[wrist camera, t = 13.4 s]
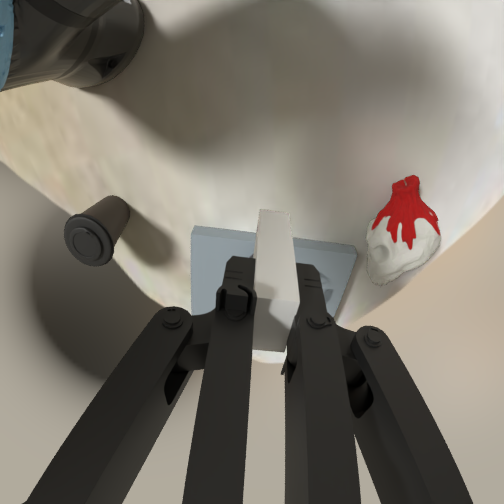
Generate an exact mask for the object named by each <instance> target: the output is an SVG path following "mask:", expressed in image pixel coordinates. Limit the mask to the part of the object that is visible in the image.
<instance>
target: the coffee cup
mask: <svg viewBox="0 0 504 504" xmlns="http://www.w3.org/2000/svg"><path fill="white" fill-rule="evenodd" d="M129 217H130V211H129V207H128V206H127V204H126V202H125V201H124V200H123V199H121V198H119V197H118V196H113V195H112V196H107V197H105V198H104V199H102V200H101V201H99V202H98V203H96V204H95V205H93V206H92V207H90V208H89V209H87V210H86V211H84V212H83V213H81V214H75V215H74V216H72V217H70V218H69V220H68V221H67V222H66V225H65V229H64V238H65V242H66V245H67V247H68V249H69V251H70V252H71V253H72V255H73V256H74V257H75V258H76V259H78V260H79V261H80V262H82V263H84V264H86V265H89V266H101V265H104V264H106V263H108V262H109V261H110V260H111V259H112V256H113V253H114V246H115V244H116V242H117V240H118V239H119V237H120V235H121V233H122V231H123V229H124V227H125V225H126V224H127V222H128V220H129Z"/></svg>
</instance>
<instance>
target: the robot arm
mask: <svg viewBox="0 0 504 504" xmlns="http://www.w3.org/2000/svg"><path fill="white" fill-rule="evenodd" d="M143 31H144V16H143V11H142V8H141V6H140V4H139V2H138V1H137V0H0V92H2V91H5V90H9V89H13V88H17V87H21V86H25V85H30V84H34V83H39V82H44V81H49V80H54V81H56V82H59V83H61V84H64V85H67V86H70V87H77V88H83V87H90V86H95V85H99V84H102V83H105V82H107V81H109V80H110V79H112V78H114V77H115V76H116V75H118V74H119V73H120V72H121V71H122V70H123V69H124V68H125V67H126V66H127V65H128V64H129V63H130V61H131V60H132V58H133V57H134V55H135V54H136V52H137V50H138V48H139V45H140V43H141V40H142V36H143ZM286 346H287V356H286V359H285V362H284V365H283V368H282V371H281V375H283V374H284V372H285V504H361V496H360V484H359V474H358V464H357V456H356V446H355V438H354V435H355V437H356V439H357V442H358V445H359V447H360V450H361V452H362V455H363V457H364V460H365V462H366V465H367V468H368V470H369V473H370V475H371V478H372V480H373V483H374V486H375V489H376V491H377V494H378V496H379V499H380V502H381V504H473V502H472V499H471V497H470V495H469V492H468V490H467V488H466V485H465V483H464V481H463V478H462V476H461V474H460V472H459V469H458V467H457V465H456V463H455V461H454V459H453V457H452V454H451V452H450V450H449V448H448V446H447V444H446V443H445V440H444V438H443V436H442V434H441V432H440V430H439V428H438V426H437V424H436V422H435V420H434V418H433V416H432V414H431V412H430V410H429V409H428V407H427V405H426V403H425V401H424V399H423V397H422V396H421V394H420V392H419V390H418V388H417V386H416V385H415V383H414V381H413V379H412V377H411V376H410V374H409V372H408V370H407V369H406V367H405V365H404V363H403V362H402V360H401V358H400V356H399V355H398V353H397V352H396V350H395V348H394V346H393V345H392V343H391V341H390V340H389V338H388V336H387V335H386V334H385V333H384V332H383V331H382V330H380V329H379V328H377V327H373V326H363V327H361V328H360V329H359V330H358V331H357V332H354V331H350V330H347V329H344V328H342V327H340V326H338V325H337V324H336V323H335V321H334V319H333V317H332V316H331V315H330V314H329V313H327V308H326V303H325V298H324V293H323V289H322V283H321V278H320V274H319V271H318V270H317V269H316V268H315V266H314V265H312V264H304V263H296V262H295V254H294V246H293V238H292V230H291V223H290V215H289V213H286V212H279V211H271V210H263V209H260V212H259V219H258V226H257V233H256V240H255V247H254V255H253V258H248V257H240V256H232V257H231V258H230V259H229V260H228V261H227V262H226V267H225V272H224V278H223V282H222V286H220V287H219V288H218V290H217V292H216V306H215V308H214V309H213V310H212V311H210V312H208V313H205V314H200V315H192V316H191V315H190V313H189V312H188V311H187V310H185V309H183V308H180V307H175V306H173V307H166V308H163V309H161V310H159V311H158V312H157V313H156V314H155V315H154V316H153V318H152V319H151V320H150V322H149V323H148V324H147V326H146V327H145V328H144V330H143V331H142V332H141V334H140V335H139V336H138V338H137V339H136V341H135V342H134V343H133V344H132V346H131V347H130V349H129V350H128V351H127V353H126V354H125V356H124V357H123V358H122V360H121V361H120V363H119V364H118V365H117V367H116V368H115V369H114V371H113V372H112V373H111V375H110V376H109V378H108V379H107V380H106V382H105V383H104V385H103V386H102V387H101V389H100V390H99V392H98V393H97V394H96V396H95V397H94V399H93V400H92V402H91V403H90V404H89V406H88V407H87V409H86V410H85V412H84V413H83V415H82V416H81V417H80V419H79V420H78V422H77V423H76V425H75V426H74V428H73V429H72V431H71V432H70V434H69V435H68V437H67V438H66V440H65V441H64V443H63V444H62V446H61V447H60V449H59V450H58V452H57V453H56V455H55V456H54V458H53V459H52V461H51V463H50V464H49V466H48V467H47V469H46V471H45V472H44V474H43V475H42V477H41V478H40V480H39V482H38V484H37V485H36V486H35V488H34V489H33V491H32V493H31V494H30V496H29V498H28V499H27V501H26V502H24V503H23V504H122V503H123V501H124V499H125V497H126V495H127V493H128V492H129V490H130V488H131V486H132V484H133V482H134V481H135V479H136V477H137V475H138V473H139V471H140V470H141V468H142V466H143V464H144V462H145V460H146V459H147V457H148V455H149V453H150V451H151V449H152V447H153V445H154V444H155V442H156V440H157V438H158V436H159V434H160V432H161V431H162V429H163V427H164V425H165V423H166V421H167V419H168V418H169V416H170V414H171V412H172V410H173V408H174V407H175V405H176V403H177V401H178V399H179V397H180V395H181V393H182V392H183V390H184V388H185V386H186V384H187V382H188V380H189V378H190V377H191V375H192V373H193V371H194V370H200V369H204V374H203V379H202V384H201V390H200V396H199V402H198V408H197V413H196V419H195V425H194V431H193V438H192V443H191V450H190V455H189V462H188V468H187V475H186V481H185V488H184V495H183V501H182V504H243V490H244V488H243V487H244V473H245V459H246V444H247V429H248V428H247V427H248V412H249V396H250V380H251V363H252V349H254V350H264V351H275V352H285V349H286Z"/></svg>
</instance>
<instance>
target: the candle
mask: <svg viewBox="0 0 504 504" xmlns="http://www.w3.org/2000/svg"><path fill="white" fill-rule="evenodd" d="M419 184H420V181H419V178H418V177H417V176H415V175H412V176H409V177H406V178H405V179H404V180H400V181H398V182H396V183H393V185H392V191H393V193H392V196H391V199H390V201H389V202H388V204H387V205H386V206H385V208H384V209H383V210H381V211H380V212H379V214H378V216H377V217H376V218H375V219H373V220H371V221H370V223H369V225H368V228H367V233H366V241H367V242H368V253H367V259H368V263H367V272H368V274H369V276H370V278H371V280H372V282H373V283H375V284H376V285H377V284H379V286H380V287H381V286H382V283H383V285H386V284H387V283H388V281H389V282H391V281H393V280H394V279H396V278H397V277H399V276H400V275H401V274H402V273H404V272H405V271H409V270H413V269H415V268H417V267H419V266H421V265H422V264H424V263H425V262H426V261H427V260H428V259H429V258H430V257H431V256H432V255H433V254H434V253H435V251H436V249H437V248H438V247H439V245H440V241H441V235H440V230H439V227H438V222H437V221H439V220H438V218H437V216H436V214H435V212H434V211H433V210H432V209H430V208H429V207H428V206H427V205H426V204H425V203H424V202H423V201H422V200H421V198H420V195H419V193H418V190H419Z"/></svg>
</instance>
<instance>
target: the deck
mask: <svg viewBox="0 0 504 504" xmlns="http://www.w3.org/2000/svg"><path fill="white" fill-rule="evenodd" d="M255 240H256V233H253V232H245V231H236V230H228V229H220V228H211V227H203V226H194V228H193V231H192V233H191V308H192V315H200V314H205V313H208V312H210V311H212V310H213V309H214V308H215V306H216V292H217V290H218V288H219V287H220V286H222V282H223V278H224V272H225V267H226V262H227V261H228V260H229V259H230V258H231V257H232V256H240V257H248V258H249V257H250V256H251V255H252V254H254V247H255ZM293 246H294V254H295V262H296V263H304V264H312V265H314V266H315V268H316V269H317V270H318V271H319V274H320V278H321V283H322V289H323V293H324V298H325V303H326V308H327V313H329V314H330V315H331V316H332V317H333V318H334V315H335V313H336V311H337V308H338V306H339V303H340V301H341V298H342V296H343V293H344V290H345V288H346V285H347V283H348V280H349V277H350V275H351V272H352V269H353V266H354V264H355V261H356V258H357V253H356V250H355V248H354V246H351V245H344V244H337V243H329V242H322V241H315V240H307V239H299V238H293Z"/></svg>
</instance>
